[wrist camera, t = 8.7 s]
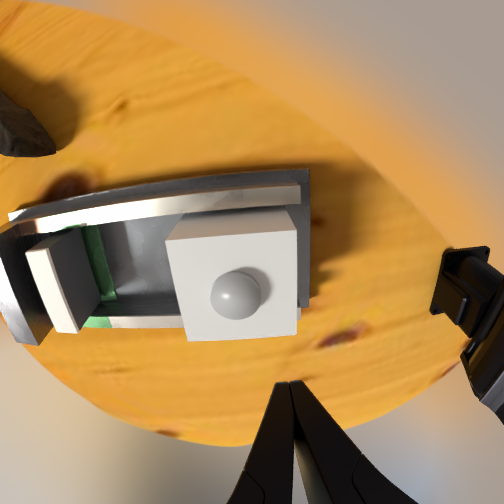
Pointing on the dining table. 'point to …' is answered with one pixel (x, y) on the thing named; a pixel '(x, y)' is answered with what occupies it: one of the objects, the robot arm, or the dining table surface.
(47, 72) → the dining table surface
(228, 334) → the knobbed white cube
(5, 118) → the hand tool
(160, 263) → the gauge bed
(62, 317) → the white flat block
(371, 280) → the dining table surface
